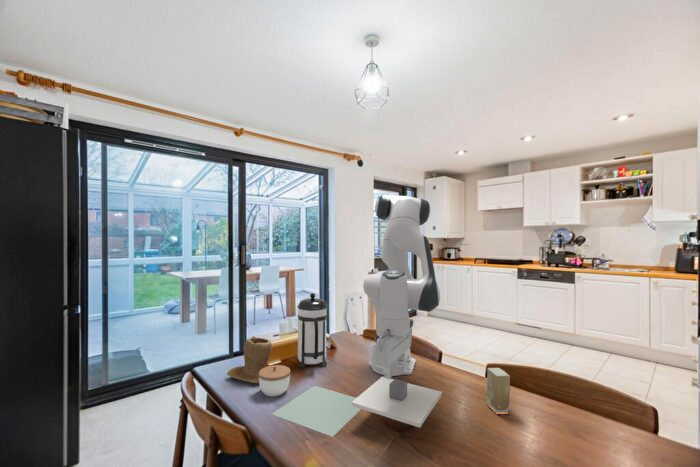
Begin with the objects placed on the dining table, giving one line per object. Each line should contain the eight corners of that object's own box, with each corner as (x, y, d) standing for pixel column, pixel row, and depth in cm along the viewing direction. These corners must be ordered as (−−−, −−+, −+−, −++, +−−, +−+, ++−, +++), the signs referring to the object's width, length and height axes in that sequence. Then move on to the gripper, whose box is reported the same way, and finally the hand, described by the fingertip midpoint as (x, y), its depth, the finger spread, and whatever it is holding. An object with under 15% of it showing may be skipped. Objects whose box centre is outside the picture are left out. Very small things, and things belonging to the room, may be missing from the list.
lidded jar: (282, 403, 105) (283, 374, 106) (252, 399, 108) (252, 371, 108) (294, 388, 116) (295, 361, 116) (266, 385, 118) (267, 359, 118)
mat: (314, 387, 117) (314, 385, 117) (369, 402, 106) (369, 401, 106) (271, 415, 98) (271, 414, 98) (332, 438, 87) (332, 436, 87)
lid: (382, 379, 109) (382, 364, 109) (441, 395, 98) (441, 378, 98) (351, 405, 92) (351, 387, 92) (419, 427, 81) (420, 407, 81)
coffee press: (285, 365, 136) (286, 294, 137) (310, 354, 150) (311, 289, 150) (316, 375, 126) (317, 298, 127) (340, 363, 140) (341, 293, 140)
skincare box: (486, 405, 105) (486, 367, 105) (499, 404, 106) (499, 367, 106) (496, 415, 99) (496, 375, 99) (510, 415, 99) (510, 375, 99)
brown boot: (277, 376, 126) (278, 337, 126) (255, 388, 115) (256, 346, 115) (249, 368, 133) (249, 331, 133) (225, 379, 122) (226, 339, 123)
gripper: (390, 337, 86) (390, 389, 86) (415, 318, 104) (415, 361, 104) (369, 333, 89) (369, 383, 89) (397, 316, 107) (397, 358, 107)
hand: (394, 371), depth 97 cm, fingers open, 8 cm apart
